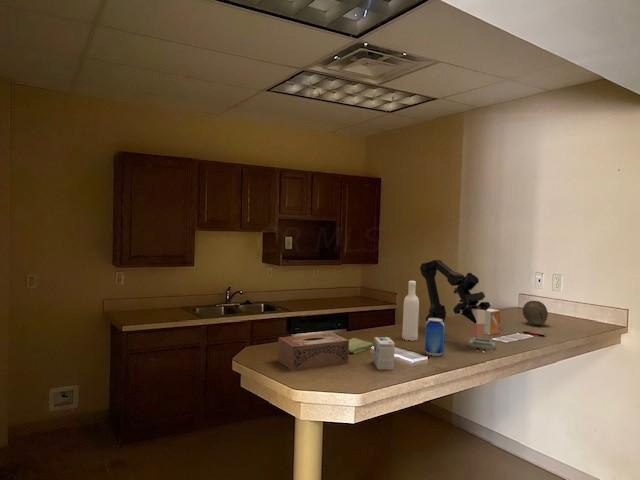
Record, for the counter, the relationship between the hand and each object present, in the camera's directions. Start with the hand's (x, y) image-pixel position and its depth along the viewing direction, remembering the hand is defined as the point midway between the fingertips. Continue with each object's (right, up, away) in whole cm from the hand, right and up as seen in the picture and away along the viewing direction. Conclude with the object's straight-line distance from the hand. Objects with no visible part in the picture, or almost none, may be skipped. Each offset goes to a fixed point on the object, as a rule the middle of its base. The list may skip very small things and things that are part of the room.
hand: (479, 322), depth 220 cm
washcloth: (-60, -12, -3) cm, 62 cm away
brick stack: (-1, -6, +2) cm, 7 cm away
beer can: (-24, -13, -8) cm, 28 cm away
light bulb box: (-50, -13, -28) cm, 59 cm away
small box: (+18, -13, +37) cm, 43 cm away
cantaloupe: (+55, -13, +62) cm, 84 cm away
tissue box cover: (-79, -12, -26) cm, 84 cm away
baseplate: (+5, -13, +11) cm, 18 cm away
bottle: (-30, -12, +18) cm, 37 cm away
